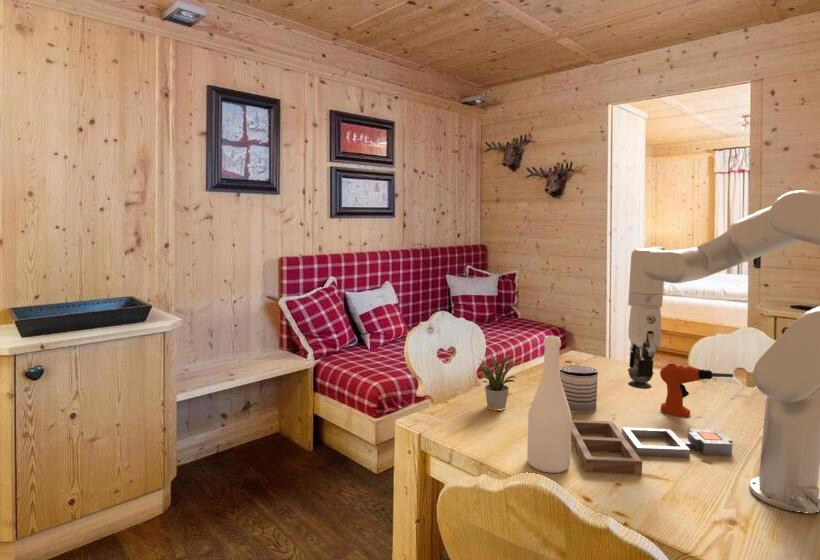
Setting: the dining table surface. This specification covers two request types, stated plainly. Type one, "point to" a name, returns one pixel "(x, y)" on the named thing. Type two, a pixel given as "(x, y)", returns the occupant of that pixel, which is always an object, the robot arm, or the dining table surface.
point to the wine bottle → (550, 417)
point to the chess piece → (633, 372)
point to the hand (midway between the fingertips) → (640, 371)
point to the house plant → (497, 383)
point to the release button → (709, 436)
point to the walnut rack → (604, 448)
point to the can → (580, 387)
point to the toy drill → (681, 386)
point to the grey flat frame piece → (677, 443)
